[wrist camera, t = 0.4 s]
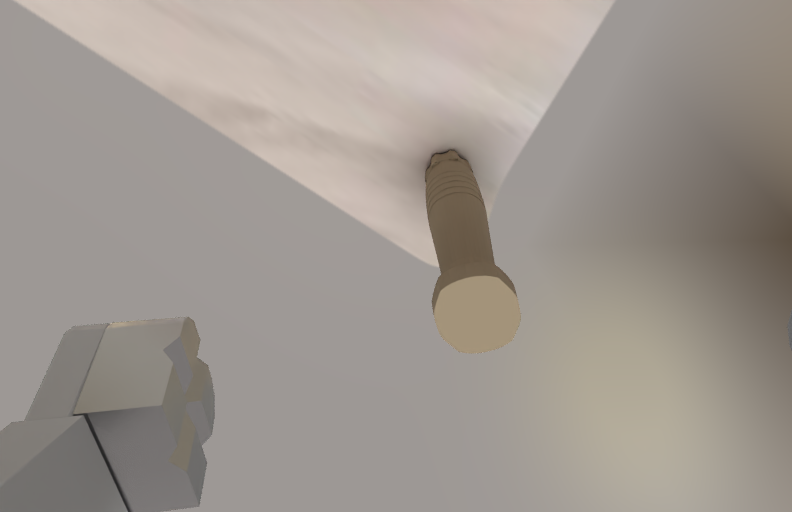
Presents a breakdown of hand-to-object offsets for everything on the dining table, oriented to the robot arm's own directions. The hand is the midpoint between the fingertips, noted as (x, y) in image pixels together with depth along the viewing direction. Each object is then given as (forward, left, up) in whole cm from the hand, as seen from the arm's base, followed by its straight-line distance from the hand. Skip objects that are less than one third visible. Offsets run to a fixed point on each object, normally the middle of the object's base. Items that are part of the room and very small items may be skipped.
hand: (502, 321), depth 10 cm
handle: (+22, +9, -37) cm, 44 cm away
